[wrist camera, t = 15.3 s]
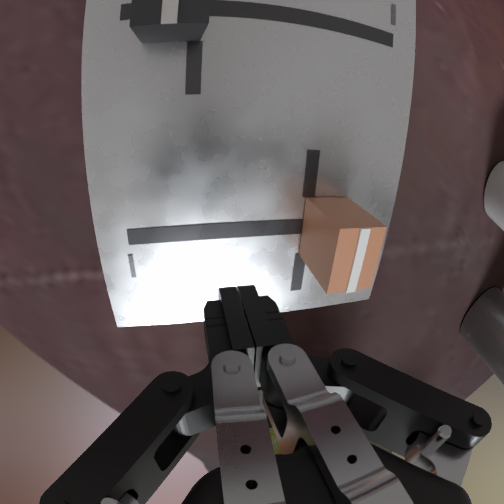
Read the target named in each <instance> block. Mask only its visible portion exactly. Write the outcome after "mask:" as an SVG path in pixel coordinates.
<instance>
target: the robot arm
mask: <svg viewBox="0 0 504 504" xmlns="http://www.w3.org/2000/svg"><path fill="white" fill-rule="evenodd" d="M203 316H204V331H205V340H206V347H207V353H208V359H209V363H208V365H207V366H206V367H205V368H204V369H203V370H202V371H200V372H198V373H196V374H194V375H191V376H187V375H185V374H183V373H181V372H175V371H170V372H165V373H162V374H160V375H158V376H157V377H156V378H155V379H154V380H153V381H152V382H151V383H150V384H149V385H148V386H147V387H146V388H145V389H144V390H143V391H142V393H141V394H140V395H139V396H138V397H137V398H136V399H135V400H134V401H133V402H132V403H131V404H130V405H129V406H128V407H127V408H126V409H125V410H124V411H123V412H122V413H121V414H120V416H119V417H118V418H117V419H116V420H115V421H114V422H113V423H112V424H111V425H110V426H109V427H108V428H107V429H106V430H105V431H104V432H103V433H102V434H101V435H100V436H99V437H98V438H97V439H96V440H95V441H94V442H93V444H92V445H91V446H90V447H89V448H88V449H87V450H86V451H85V452H84V453H83V454H82V455H81V456H80V457H79V458H78V459H77V460H76V461H75V462H74V463H73V464H72V465H71V466H70V467H69V468H68V469H67V470H66V471H65V472H64V473H63V474H62V475H61V476H60V477H59V478H58V479H57V480H56V481H55V482H54V483H53V484H52V485H51V486H50V487H49V488H48V489H47V490H46V491H45V492H44V494H43V495H42V496H41V499H40V503H39V504H145V503H146V502H147V501H148V499H149V498H150V497H151V496H152V495H153V494H154V492H155V491H156V490H157V489H158V487H159V486H160V485H161V484H162V482H163V481H164V480H165V478H166V477H167V476H168V475H169V473H170V472H171V471H172V470H173V468H174V467H175V466H176V464H177V463H178V462H179V461H180V459H181V458H182V457H183V455H184V454H185V453H186V451H187V450H188V449H189V447H190V446H191V445H192V443H193V442H194V441H195V439H196V438H197V437H198V435H199V433H200V432H201V431H204V430H206V429H209V428H211V427H213V426H216V433H217V443H218V453H219V463H220V467H218V468H216V469H214V470H212V471H210V472H209V473H207V474H206V475H204V476H203V477H202V478H201V479H200V480H199V481H198V482H197V483H196V484H195V485H194V486H193V487H192V489H191V490H190V492H189V493H188V495H187V496H186V498H185V499H184V501H183V502H182V504H471V500H470V498H469V496H468V494H467V493H466V491H465V490H464V489H463V488H462V487H460V486H461V484H462V481H463V478H464V475H465V472H466V469H467V466H468V462H469V459H470V455H471V452H472V449H473V447H474V446H475V445H476V444H477V443H479V442H480V440H482V439H483V438H484V437H485V436H486V435H487V434H488V433H489V431H490V429H491V426H492V423H491V418H490V416H489V414H488V413H487V412H486V411H485V410H484V409H483V408H481V407H479V406H476V405H474V404H472V403H469V402H467V401H465V400H462V399H460V398H458V397H455V396H453V395H451V394H449V393H446V392H444V391H442V390H440V389H437V388H435V387H433V386H431V385H428V384H426V383H424V382H422V381H420V380H417V379H415V378H413V377H411V376H409V375H407V374H404V373H402V372H400V371H398V370H396V369H394V368H392V367H389V366H387V365H385V364H383V363H381V362H379V361H377V360H375V359H373V358H371V357H369V356H366V355H364V354H362V353H360V352H358V351H356V350H353V349H348V348H344V349H339V350H337V351H335V352H334V353H333V354H332V356H331V358H324V357H314V356H309V355H307V354H306V353H305V351H304V350H303V349H301V348H300V347H298V346H296V345H295V344H294V342H293V340H292V337H291V335H290V333H289V331H288V329H287V326H286V324H285V322H284V320H283V317H282V315H281V313H280V311H279V308H278V306H277V304H276V302H275V301H274V300H272V299H271V298H270V297H269V296H268V295H265V296H259V295H258V292H257V290H256V287H255V285H243V286H232V287H220V288H218V300H210V301H207V302H206V304H205V306H204V308H203ZM460 334H461V335H462V336H463V338H464V339H465V340H466V341H467V342H468V343H469V344H470V346H471V347H472V348H473V349H474V350H475V352H476V353H477V354H478V355H479V356H480V357H481V359H482V360H483V361H484V362H485V363H486V364H487V366H488V367H489V368H490V369H491V370H492V372H493V373H494V374H495V375H496V376H497V378H498V379H499V380H500V381H501V383H502V384H503V385H504V293H503V292H502V291H500V290H499V289H498V288H497V287H493V288H490V289H489V290H487V291H486V292H485V293H483V294H482V295H481V296H480V297H479V298H478V300H477V301H476V302H475V303H474V304H473V306H472V307H471V308H470V310H469V311H468V313H467V314H466V316H465V318H464V320H463V322H462V325H461V328H460ZM257 387H261V389H262V392H263V398H262V403H263V406H264V408H265V411H266V413H267V416H268V418H269V421H270V423H271V425H272V428H273V430H274V433H275V435H276V437H277V440H278V443H279V450H280V454H275V453H274V449H273V444H272V439H271V435H270V430H269V425H268V421H267V416H266V413H265V411H264V410H262V408H261V404H260V399H259V394H258V389H257ZM355 393H356V394H355ZM357 394H358V395H357ZM359 395H360V396H359ZM361 396H362V397H361ZM363 397H364V398H363ZM365 398H366V399H365ZM367 399H368V400H367ZM369 400H370V401H369ZM371 401H372V402H371ZM373 402H374V403H373ZM375 403H376V404H375ZM377 404H378V405H377ZM379 405H381V406H382V407H381V406H379ZM368 440H370V441H372V442H374V443H376V444H378V445H380V446H383V447H385V448H387V449H389V450H391V451H393V452H395V453H397V454H400V455H402V456H404V457H405V460H403V459H401V458H399V457H397V456H395V455H393V454H391V453H389V452H387V451H385V450H384V449H382V448H380V447H378V446H376V445H374V444H371V443H370V442H369V441H368Z"/></svg>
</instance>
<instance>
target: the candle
mask: <svg viewBox="0 0 504 504" xmlns="http://www.w3.org/2000/svg"><path fill="white" fill-rule="evenodd" d="M484 208H485V211H486V213H487V215H488V216H489V217H490V218H491V219H492V220H493V221H494V222H495V223H496V224H497V225H498V226H499V227H500V228H501V229H502V230H503V231H504V161H501V162H499V163H498V164H497V165H496V166H495V167H494V168H493V170H492V171H491V173H490V175H489V178H488V180H487V183H486V187H485V192H484Z"/></svg>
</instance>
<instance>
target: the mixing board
mask: <svg viewBox="0 0 504 504" xmlns="http://www.w3.org/2000/svg"><path fill="white" fill-rule="evenodd" d="M131 2H132V0H86V9H85V19H84V31H83V47H82V122H83V138H84V151H85V162H86V172H87V181H88V189H89V196H90V203H91V210H92V216H93V222H94V228H95V234H96V239H97V244H98V249H99V254H100V259H101V264H102V268H103V273H104V277H105V281H106V286H107V290H108V294H109V298H110V302H111V305H112V309H113V313H114V316H115V320H116V323H117V327H128V326H145V325H160V324H173V323H186V322H197V321H204V316H203V308H204V306H205V304H206V302H207V301H210V300H218V288H220V287H232V286H243V285H255V287H256V290H257V292H258V295H259V296H265V295H268V296H269V297H270V298H271V299H272V300H274V301H275V302H276V304H277V306H278V308H279V311H280V312H287V311H295V310H302V309H309V308H316V307H323V306H329V305H336V304H342V303H348V302H354V301H360V300H366V299H369V297H370V294H371V291H372V287H373V284H374V281H375V277H376V274H377V270H378V267H379V263H380V260H381V256H382V252H383V249H384V245H385V241H386V237H387V233H388V229H389V225H390V220H391V216H392V212H393V207H394V203H395V198H396V193H397V188H398V183H399V178H400V173H401V167H402V162H403V156H404V150H405V143H406V137H407V130H408V123H409V115H410V106H411V97H412V87H413V75H414V60H415V37H416V0H211V1H210V16H209V24H208V26H207V28H206V30H205V32H204V34H203V36H202V38H201V40H200V41H168V42H151V43H141V42H140V40H139V39H138V38H137V36H136V35H135V34H134V32H133V31H132V29H131V28H130V27H129V25H130V13H131ZM308 197H348V198H349V199H351V200H352V201H354V202H355V203H356V204H358V205H359V206H360V207H362V208H363V209H364V210H366V211H367V212H368V213H370V214H371V215H372V216H374V217H375V218H376V219H378V220H379V221H380V222H381V223H383V224H384V225H385V226H387V229H386V233H385V237H384V241H383V245H382V249H381V253H380V257H379V260H378V264H377V267H376V271H375V274H374V278H373V281H372V285H371V288H367V289H360V290H355V292H351V293H346V292H340V293H333V294H326V293H325V291H324V290H323V288H322V287H321V285H320V284H319V283H318V281H317V280H316V278H315V277H314V275H313V274H312V272H311V271H310V270H309V268H308V267H307V265H306V264H305V262H304V261H303V260H302V258H301V257H300V255H299V249H300V242H301V234H302V227H303V219H304V211H305V203H306V198H308Z"/></svg>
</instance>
